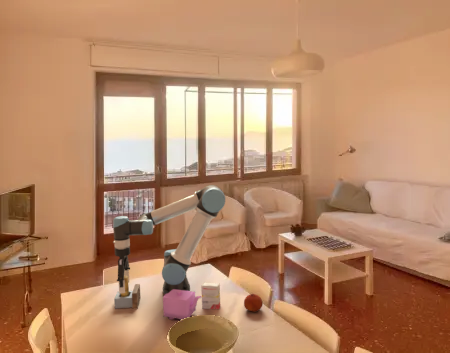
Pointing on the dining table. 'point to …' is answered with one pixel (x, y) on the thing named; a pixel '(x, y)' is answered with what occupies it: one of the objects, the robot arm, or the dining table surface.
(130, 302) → the block
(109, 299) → the dining table surface
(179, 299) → the teapot
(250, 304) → the fruit
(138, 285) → the board
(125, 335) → the dining table surface
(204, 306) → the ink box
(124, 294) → the golden brown tall cylinder
